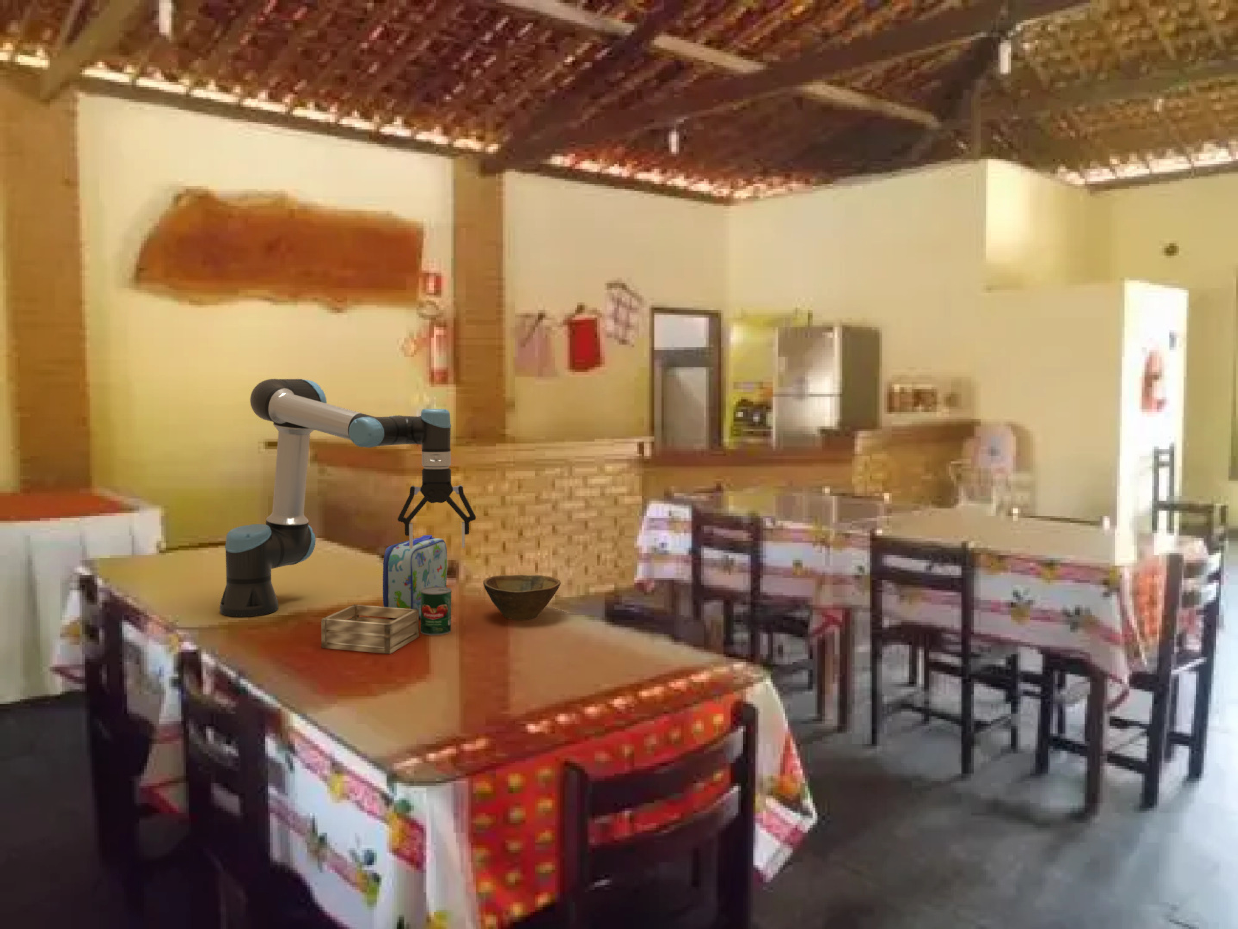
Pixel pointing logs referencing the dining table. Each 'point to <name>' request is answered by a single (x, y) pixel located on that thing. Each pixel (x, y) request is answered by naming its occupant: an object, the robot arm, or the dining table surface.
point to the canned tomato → (435, 611)
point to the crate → (370, 629)
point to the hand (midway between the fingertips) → (437, 547)
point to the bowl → (521, 594)
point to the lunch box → (413, 571)
